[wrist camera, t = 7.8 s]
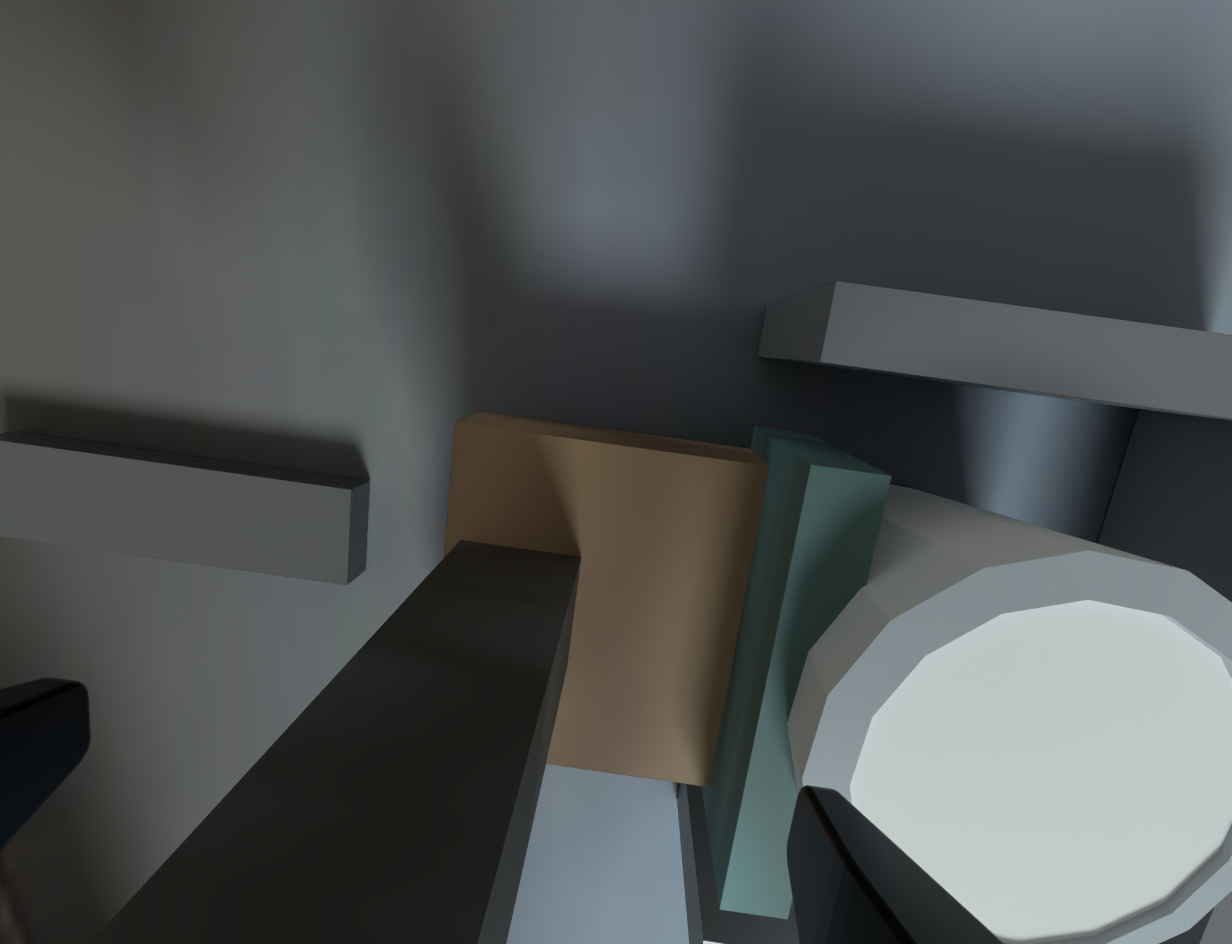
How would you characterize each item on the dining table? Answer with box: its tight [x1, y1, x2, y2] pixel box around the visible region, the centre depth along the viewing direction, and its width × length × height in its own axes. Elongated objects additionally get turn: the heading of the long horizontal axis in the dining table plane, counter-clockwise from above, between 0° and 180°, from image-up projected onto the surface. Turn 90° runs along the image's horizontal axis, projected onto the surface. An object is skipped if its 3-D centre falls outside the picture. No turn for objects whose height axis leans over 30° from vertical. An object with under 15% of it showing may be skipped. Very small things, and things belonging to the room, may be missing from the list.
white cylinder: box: [787, 484, 1232, 944], centre depth 12 cm, size 7×7×7 cm
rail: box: [0, 431, 370, 585], centre depth 15 cm, size 9×2×1 cm, turn 82°
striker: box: [90, 411, 892, 944], centre depth 9 cm, size 7×8×11 cm
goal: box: [677, 281, 1232, 944], centre depth 13 cm, size 10×13×5 cm
